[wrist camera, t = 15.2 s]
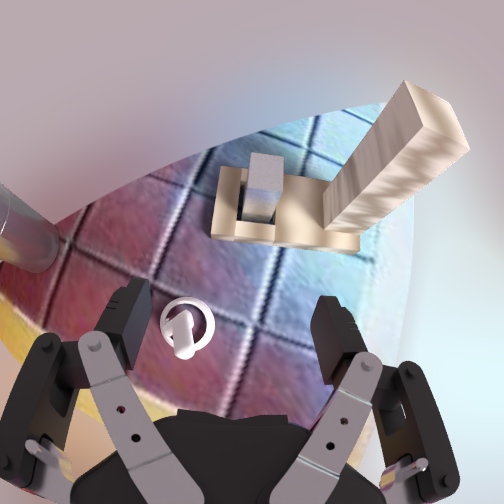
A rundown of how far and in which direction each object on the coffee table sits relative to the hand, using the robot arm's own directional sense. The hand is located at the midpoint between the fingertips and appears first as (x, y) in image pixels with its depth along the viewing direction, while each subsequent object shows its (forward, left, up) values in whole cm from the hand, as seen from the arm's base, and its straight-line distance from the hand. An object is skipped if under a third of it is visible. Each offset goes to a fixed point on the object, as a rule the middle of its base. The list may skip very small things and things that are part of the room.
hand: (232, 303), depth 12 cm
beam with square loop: (+8, +17, -25) cm, 31 cm away
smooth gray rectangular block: (+3, +16, -25) cm, 30 cm away
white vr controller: (-5, -1, -25) cm, 26 cm away
